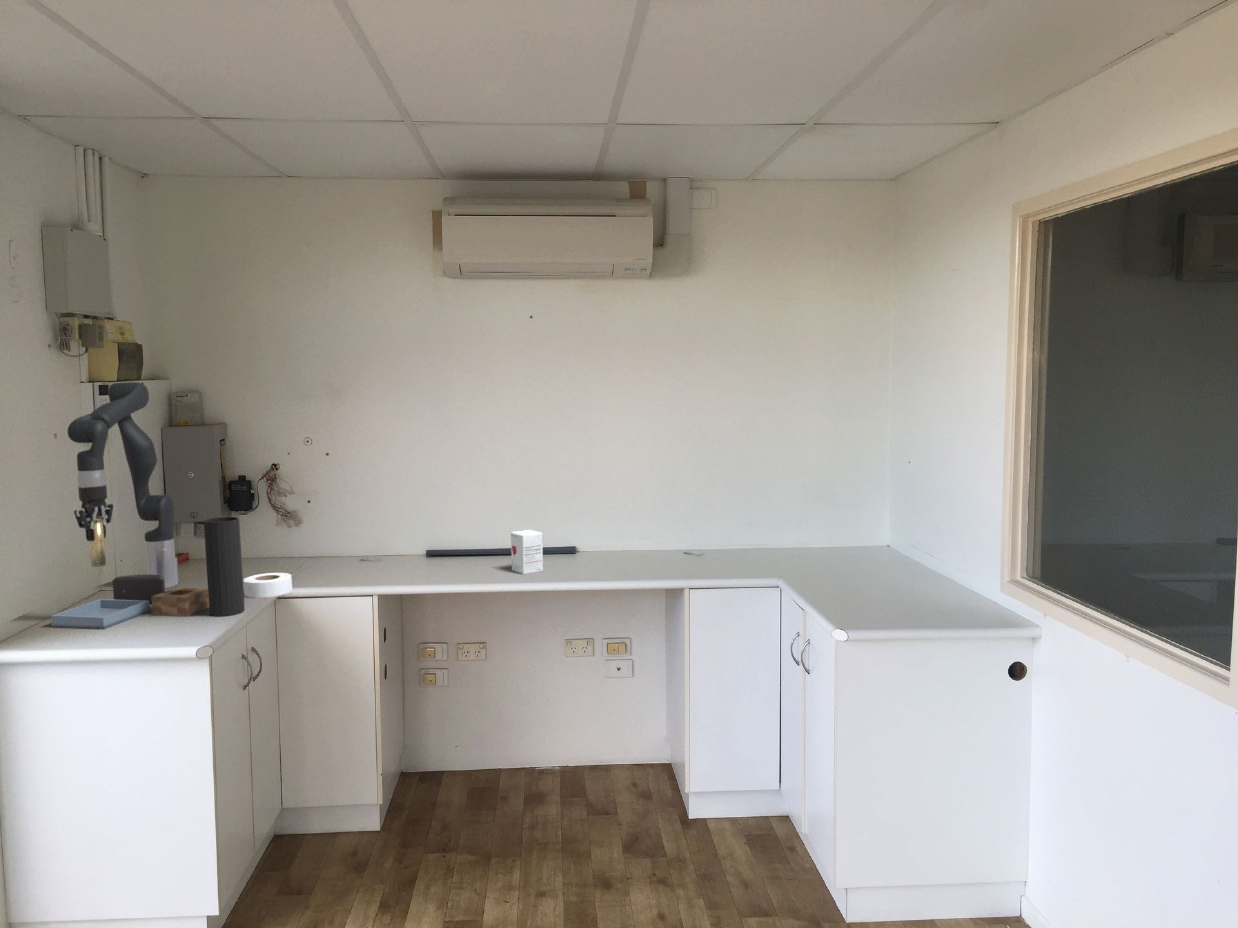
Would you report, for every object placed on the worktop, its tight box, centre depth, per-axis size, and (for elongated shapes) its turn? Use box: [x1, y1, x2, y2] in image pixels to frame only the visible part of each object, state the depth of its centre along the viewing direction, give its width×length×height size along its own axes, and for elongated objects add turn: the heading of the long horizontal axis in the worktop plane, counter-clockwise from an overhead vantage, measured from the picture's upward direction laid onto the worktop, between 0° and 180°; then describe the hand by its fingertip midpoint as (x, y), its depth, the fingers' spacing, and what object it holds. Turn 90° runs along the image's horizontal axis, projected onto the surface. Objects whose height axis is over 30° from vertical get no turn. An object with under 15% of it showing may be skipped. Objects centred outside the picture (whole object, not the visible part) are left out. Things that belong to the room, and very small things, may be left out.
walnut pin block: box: [151, 586, 209, 617], centre depth 284 cm, size 12×12×6 cm
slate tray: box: [50, 598, 151, 630], centre depth 276 cm, size 20×18×4 cm
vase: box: [203, 516, 246, 618], centre depth 280 cm, size 10×10×30 cm
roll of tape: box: [243, 572, 293, 599], centre depth 307 cm, size 16×16×6 cm
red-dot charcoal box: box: [112, 573, 166, 605], centre depth 295 cm, size 16×5×9 cm, turn 96°
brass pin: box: [88, 517, 107, 568], centre depth 274 cm, size 4×4×15 cm
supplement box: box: [510, 529, 544, 575], centre depth 334 cm, size 9×9×15 cm
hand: (96, 539), depth 274 cm, fingers closed on brass pin, 4 cm apart
